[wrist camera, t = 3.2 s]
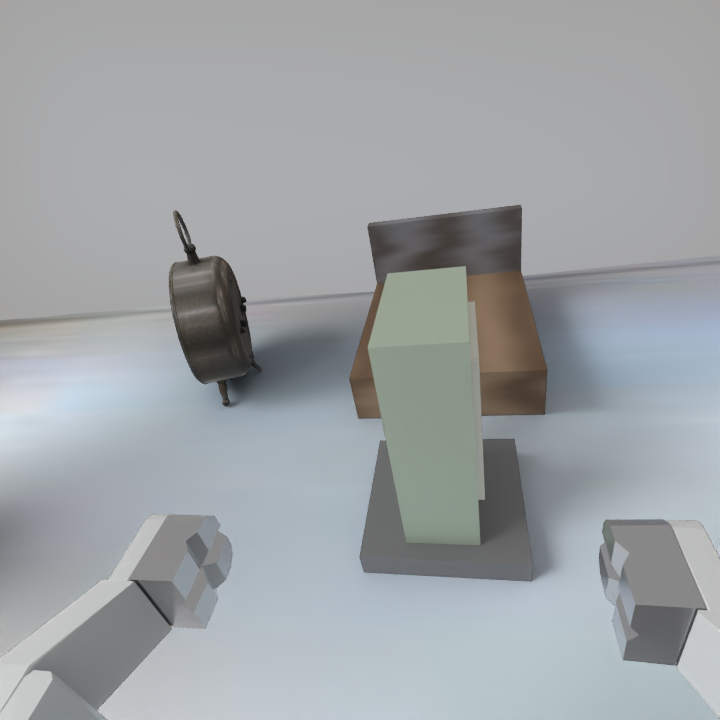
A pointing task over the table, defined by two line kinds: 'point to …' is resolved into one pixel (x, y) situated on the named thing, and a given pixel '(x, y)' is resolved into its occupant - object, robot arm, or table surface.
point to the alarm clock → (209, 317)
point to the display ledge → (484, 286)
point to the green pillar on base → (438, 443)
